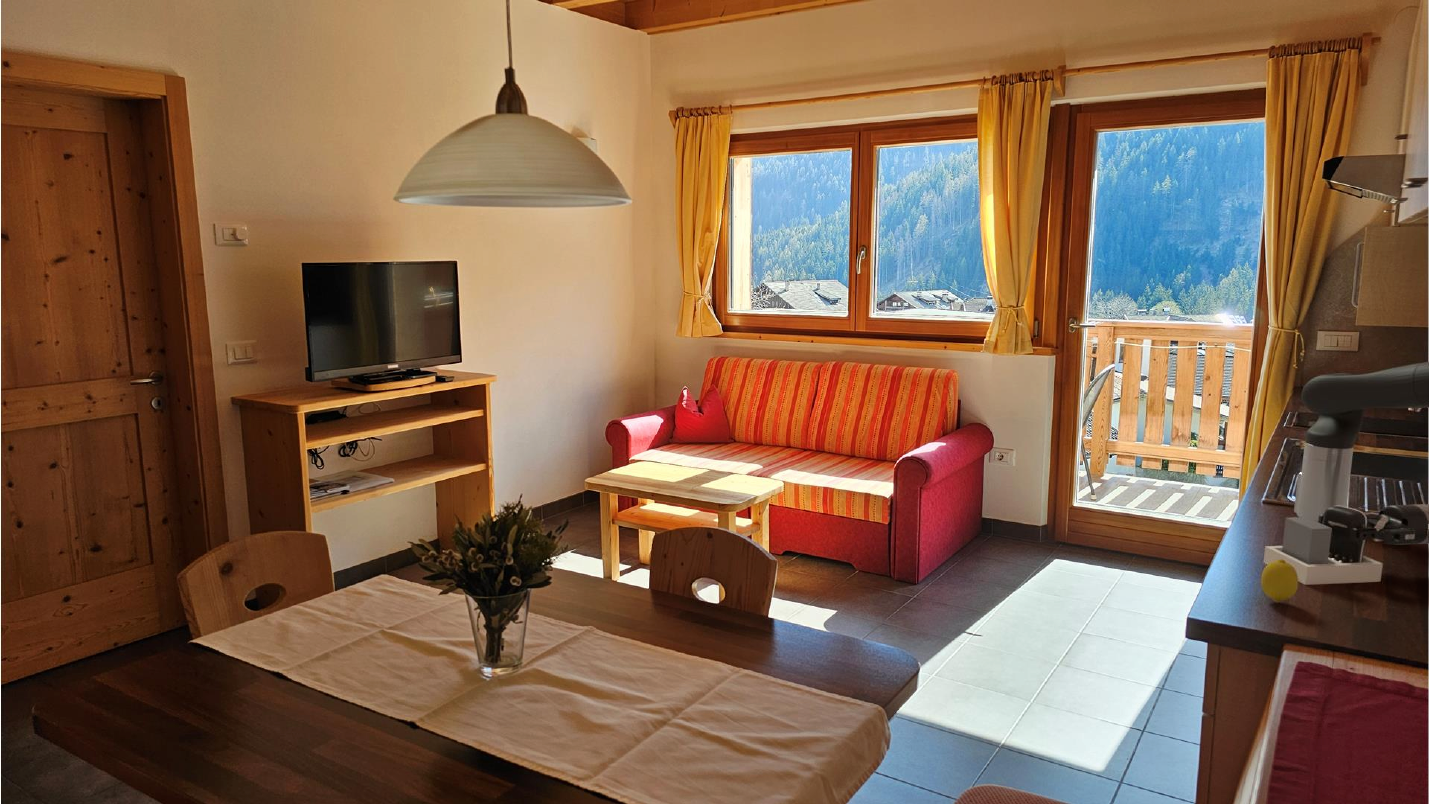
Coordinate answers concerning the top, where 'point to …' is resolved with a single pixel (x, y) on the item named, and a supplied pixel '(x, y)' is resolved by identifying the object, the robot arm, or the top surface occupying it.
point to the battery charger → (1345, 533)
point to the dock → (1328, 569)
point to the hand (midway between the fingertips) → (1336, 526)
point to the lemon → (1279, 580)
